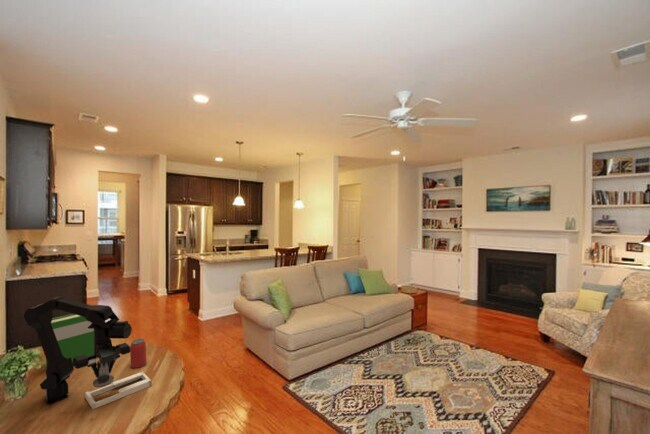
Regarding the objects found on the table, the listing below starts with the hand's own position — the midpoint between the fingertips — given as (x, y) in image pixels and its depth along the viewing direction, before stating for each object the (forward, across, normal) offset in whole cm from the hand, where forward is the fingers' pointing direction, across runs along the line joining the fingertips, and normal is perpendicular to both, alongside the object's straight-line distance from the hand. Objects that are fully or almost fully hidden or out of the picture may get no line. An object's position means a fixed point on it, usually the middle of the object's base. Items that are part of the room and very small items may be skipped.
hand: (103, 375), depth 132 cm
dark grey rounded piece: (+3, 0, 0) cm, 3 cm away
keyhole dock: (+10, +6, 0) cm, 11 cm away
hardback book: (+10, -3, +43) cm, 44 cm away
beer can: (+10, +19, +18) cm, 28 cm away
